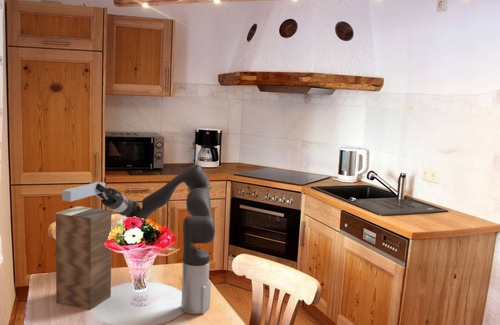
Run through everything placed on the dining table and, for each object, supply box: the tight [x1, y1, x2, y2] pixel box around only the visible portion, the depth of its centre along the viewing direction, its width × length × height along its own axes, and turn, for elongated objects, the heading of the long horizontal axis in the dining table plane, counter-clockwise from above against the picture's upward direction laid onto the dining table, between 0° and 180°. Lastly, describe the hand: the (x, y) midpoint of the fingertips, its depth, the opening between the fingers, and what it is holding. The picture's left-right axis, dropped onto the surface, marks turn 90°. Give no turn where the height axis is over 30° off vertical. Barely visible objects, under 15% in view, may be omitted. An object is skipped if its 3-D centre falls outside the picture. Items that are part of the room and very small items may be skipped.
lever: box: [61, 181, 106, 203], centre depth 175 cm, size 4×20×4 cm, turn 162°
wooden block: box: [55, 205, 112, 310], centre depth 170 cm, size 14×12×32 cm
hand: (92, 185), depth 179 cm, fingers closed on lever, 3 cm apart
